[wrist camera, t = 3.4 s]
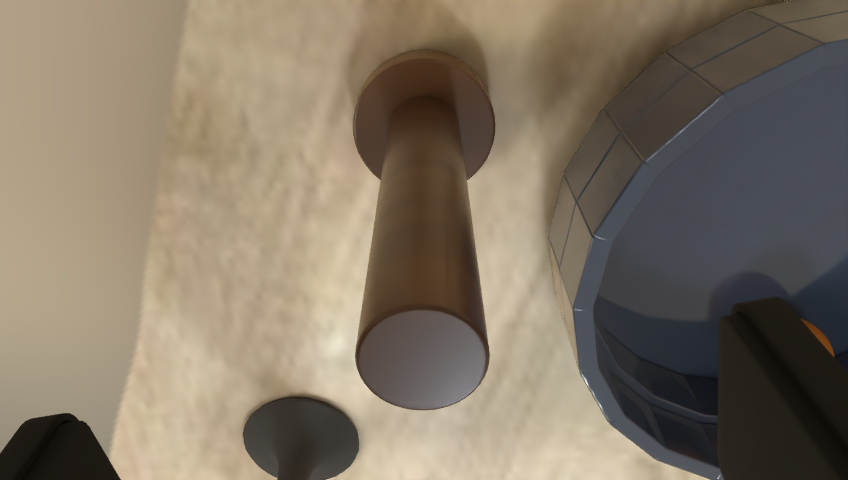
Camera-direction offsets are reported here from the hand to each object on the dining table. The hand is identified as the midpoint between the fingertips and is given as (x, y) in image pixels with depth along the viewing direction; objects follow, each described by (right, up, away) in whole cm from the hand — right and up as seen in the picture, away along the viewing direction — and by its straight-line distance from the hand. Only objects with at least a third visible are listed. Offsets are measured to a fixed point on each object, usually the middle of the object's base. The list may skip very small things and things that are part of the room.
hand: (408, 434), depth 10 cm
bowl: (+12, +4, +13) cm, 18 cm away
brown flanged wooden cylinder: (0, +7, +12) cm, 14 cm away
